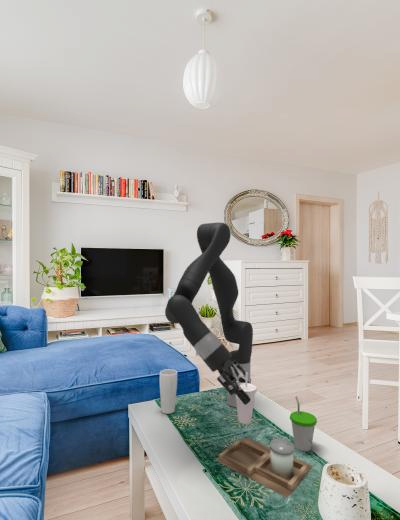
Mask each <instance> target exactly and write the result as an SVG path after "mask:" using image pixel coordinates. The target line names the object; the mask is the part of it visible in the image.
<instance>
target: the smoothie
mask: <svg viewBox="0 0 400 520" xmlns="http://www.w3.org/2000/svg"><path fill="white" fill-rule="evenodd" d="M247 381H248V372H246V382H245V383H239V384H240V386H241V388H242V389H243V390H244V391H245V393H246V394H247V395H248V396H249V398H250V399H251V400H250V402H249V403H248V404H246V405H245V404H244V403H243V402H242V401H241V400H240V399H239V397H238V396H237V395H236V403H237V408H236V410H237V420H238V421H237V422H239V423H241V424H245V425H246V424H251V422H252V418H253V411H254V403H255V398H256V397H255V396H256V393H257V386H256V385H255V384H253V383H251V384H250V383H247Z"/></svg>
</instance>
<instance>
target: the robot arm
mask: <svg viewBox="0 0 400 520" xmlns="http://www.w3.org/2000/svg"><path fill="white" fill-rule="evenodd" d="M230 229H231V228H230V226H229V225H228V224H227V223H225V222H209V223H202V224H200V225H199V226H198V227H197V230H196V238H197V243H198V247H199V249H200V251H201V254H200V255H199V256H198V257H196V258H195V259H194V260H193V261H192V262H190V264H189V265H188V266H187V267H186V269H185V271H184V272H183V274H182V276H181V277H180V279H179V281H178V283H177V286H176V290H175V291H174V293H173V295H172V296H170V297H169V299H168V301H167V303H166V307H165V310H164V314H165V315H164V316H165V319H167V321H168V322H169V323H172V324H179V326H180V327H181V328H182V332H183V335H184V337H185V339H186V340H187V341H188V342H189V343H190V345H191V346H192V347H193V349H194V350H195V352H196V354H197V355H198V356H199V358H201V360H202V361H203V363H205V364H206V367H208V369H210V371H211V372H213V373H215V372H216V371H217V372H218V373H219V375H218V377H217V378H216V379H217V381H218V383H220V385H222V387H223V388H224V389H225V390H226V391H227V392H226V394H227V395H226V403H227V404H228V405H229V406H231V407H233V408H236V409H237V403H236V395H237V396H238V397H239V399H240V400H241V401H242V402H243V403H244V404H245V405H246V404H248V403H249V402H250V400H251V399H250V398H249V396H248V395H247V394H246V393H245V391H244V390H243V389H242V388H241V386H240V384H239V383H245V382H246V372H248V381H247V383H250V384H252V378H251V362H252V359H251V358H252V353H253V337H254V329H253V328H254V327H253V326H252V325H253V324H251V323H250V322H249V321H243V320H237V319H235V317H234V311H233V310H234V307H235V304H236V301H237V299H238V296H239V288H238V282H237V279H236V276H235V274H234V273H233V272H232V270H231V269H230V268H229V267H228V265H227V264H226V263H225V262H224V261H223V260H222V258H221V255H222V253H224V251H225V249H226V248H227V247H228V245H229V243H230V240H231V230H230ZM208 274H209V277H210V280H211V281H210V282H211V285H212V290H213V292H214V296H215V299H216V302H217V307H218V310H219V315H220V316H219V317H220V320H221V321H220V322H221V326H222V333H223V336H224V339H225V340H226V342H228V343H232V344H236V345H238V349H236V350H235V349H234V350H231V351H230V350H229V349H227V347H226V346H225V345H224V344H223V343H222V341H221V340H220V338H219V337H217V336H216V334H214V333H213V332H212V331H211V329H210V328H209V327H208V326H207V325H206V324H205V323H204V321H202V319H201V317H200V316H199V313H198V312H197V310H196V308H195V307H194V305H193V302H194V299H195V298H196V296H197V295H198V293H199V292H200V289H201V287H202V285H203V283H204V281H205V279H206V277H207V275H208Z"/></svg>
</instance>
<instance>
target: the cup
mask: <svg viewBox="0 0 400 520" xmlns="http://www.w3.org/2000/svg"><path fill="white" fill-rule="evenodd" d="M295 400H296V403H297V411H293V412H291V413H290V414H289V419H290V421H291V427H292V429H291V430H292V435H293V442H294V443H293V445H294V449H296V450H298V451H301V452H303V453H304V452H305V453H306V452H309V451H312V450H311V449H312V445H313V440H314V433H315V427H316V425H317V423H318V421H317V420H318V419H317V417H316V416H315V415H314V414H312V413H310V412H307V411H301V410H300V407H301V406H300V402H299V398H298V396H297V395H296V396H295Z"/></svg>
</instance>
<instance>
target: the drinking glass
mask: <svg viewBox="0 0 400 520" xmlns="http://www.w3.org/2000/svg"><path fill="white" fill-rule="evenodd" d="M177 388H178V371H177V370H176V369H171V368H165V369H162V370H160V371H159V393H160V394H159V395H160V411H161V413H162V414H165V415H169V414H173V413H174V412H176V399H177V390H178V389H177Z"/></svg>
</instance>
